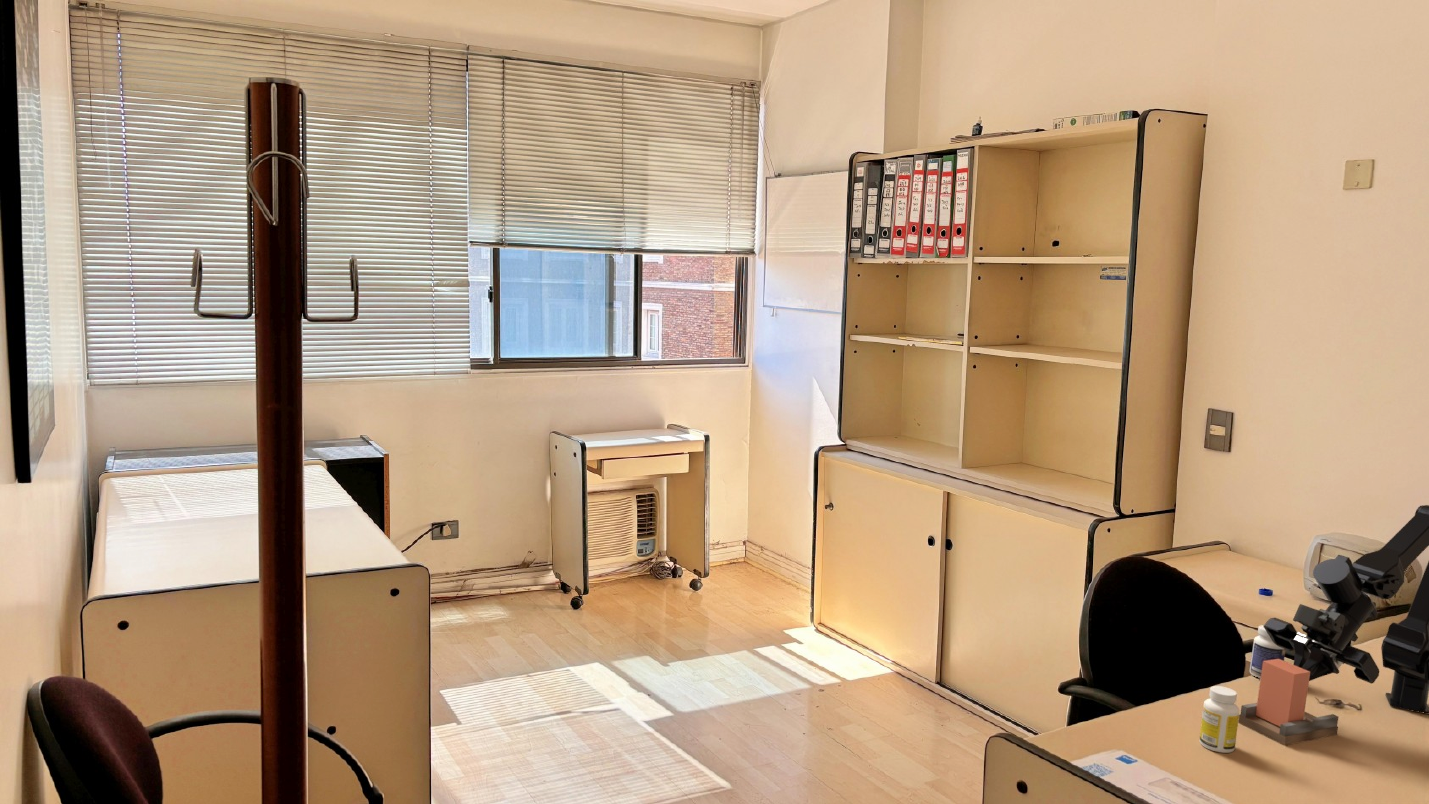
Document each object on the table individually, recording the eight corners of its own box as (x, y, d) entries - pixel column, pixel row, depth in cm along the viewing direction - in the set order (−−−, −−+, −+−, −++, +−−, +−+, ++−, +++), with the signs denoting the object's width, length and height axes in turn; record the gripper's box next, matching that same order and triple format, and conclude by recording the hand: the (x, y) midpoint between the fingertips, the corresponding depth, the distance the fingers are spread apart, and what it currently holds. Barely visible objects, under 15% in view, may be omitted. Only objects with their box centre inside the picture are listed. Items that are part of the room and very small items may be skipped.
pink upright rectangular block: (1271, 712, 181) (1278, 658, 179) (1302, 726, 175) (1310, 671, 174) (1255, 715, 179) (1263, 661, 178) (1286, 729, 174) (1294, 674, 172)
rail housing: (1289, 713, 185) (1292, 695, 185) (1336, 734, 177) (1339, 716, 177) (1238, 722, 180) (1240, 703, 179) (1284, 745, 172) (1287, 726, 171)
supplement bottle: (1231, 742, 172) (1239, 687, 170) (1236, 756, 166) (1244, 700, 165) (1196, 736, 173) (1204, 681, 172) (1200, 749, 168) (1208, 693, 167)
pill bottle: (1285, 684, 199) (1292, 635, 198) (1254, 680, 200) (1261, 631, 199) (1275, 673, 205) (1282, 625, 204) (1245, 669, 206) (1251, 622, 205)
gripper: (1277, 574, 186) (1227, 637, 183) (1378, 608, 169) (1325, 678, 166) (1300, 612, 190) (1251, 674, 187) (1401, 648, 173) (1350, 717, 170)
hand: (1292, 684), depth 177 cm, fingers closed, pressing on pink upright rectangular block
